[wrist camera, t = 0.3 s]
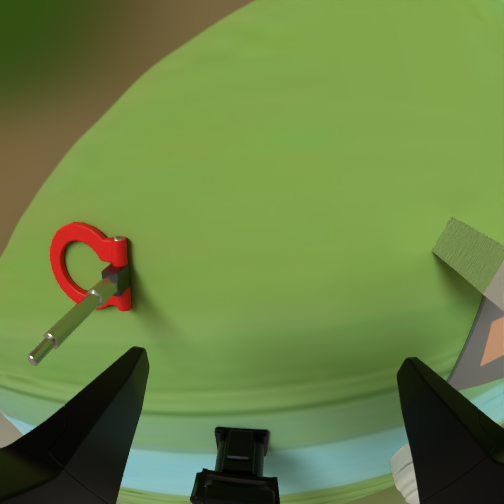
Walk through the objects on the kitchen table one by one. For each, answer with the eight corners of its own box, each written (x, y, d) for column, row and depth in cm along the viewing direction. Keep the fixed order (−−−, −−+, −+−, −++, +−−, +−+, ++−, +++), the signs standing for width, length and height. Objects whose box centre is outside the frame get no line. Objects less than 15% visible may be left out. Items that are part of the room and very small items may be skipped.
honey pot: (463, 415, 30) (502, 502, 14) (451, 449, 34) (477, 521, 18) (389, 446, 33) (413, 545, 16) (388, 474, 37) (404, 552, 20)
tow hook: (63, 294, 26) (136, 313, 26) (-16, 365, 14) (62, 411, 14) (52, 217, 23) (130, 226, 23) (-51, 269, 11) (18, 300, 11)
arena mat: (505, 374, 27) (507, 376, 27) (441, 391, 28) (442, 394, 27) (550, 272, 21) (552, 274, 21) (490, 273, 22) (493, 275, 22)
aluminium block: (465, 275, 22) (513, 318, 15) (431, 250, 22) (482, 294, 14) (483, 244, 21) (536, 280, 14) (450, 216, 21) (509, 249, 13)
